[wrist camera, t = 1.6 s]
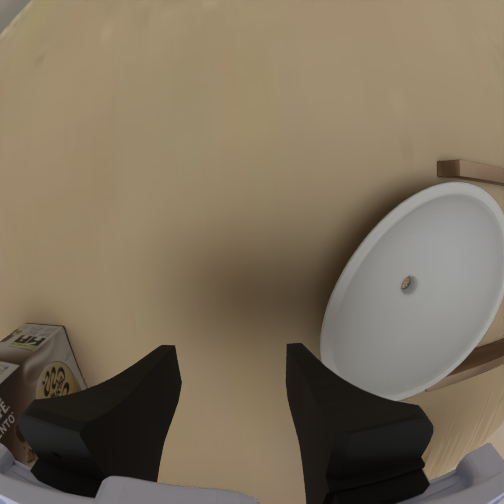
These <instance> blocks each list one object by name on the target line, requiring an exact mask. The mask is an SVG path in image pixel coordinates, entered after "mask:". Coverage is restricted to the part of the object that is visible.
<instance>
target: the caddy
mask: <svg viewBox="0 0 504 504" xmlns="http://www.w3.org/2000/svg"><path fill="white" fill-rule="evenodd" d="M437 171H438V176H440V177H449V178H457V179H464V180H471V181H478V182H484V183H491V184H496V185H502V186H504V169H502V168H498V167H494V166H489V165H485V164H480V163H475V162H470V161H465V160H448V161H437ZM502 364H504V339H501V340H499V341H496V342H493V343H490V344H487V345H484V346H481V347H478V348H475V349H473V351H472V352H471V353H470V354H469V355H468V356H467V357H466V359H465V360H464V361H463V362H462V363H461V364H460V365H459V366H457V367H456V368H455V369H454V370H453V371H452V372H451V373H449V374H448V375H447V376H446V377H444V378H443V379H442V380H440V381H439V382H437V383H436V384H434V385H433V386H431V387H429V388H428V389H426V390H425V391H426V392H429V391H432V390H435V389H439V388H442V387H445V386H448V385H451V384H454V383H457V382H460V381H462V380H465V379H468V378H471V377H473V376H476V375H479V374H481V373H484V372H486V371H488V370H491V369H493V368H496V367H498V366H500V365H502Z"/></svg>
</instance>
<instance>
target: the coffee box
mask: <svg viewBox="0 0 504 504" xmlns="http://www.w3.org/2000/svg"><path fill="white" fill-rule="evenodd" d="M85 389H87V388H86V385H85V383H84V381H83V378H82V376H81V374H80V371H79V369H78V366H77V364H76V361H75V359H74V356H73V353H72V351H71V348H70V345H69V342H68V339H67V336H66V333H65V330H64V327H62V326H49V325H37V324H23V325H22V326H21V327H19V328H18V329H17V330H15V331H14V332H13V333H11V334H10V335H8V336H7V337H6V338H4V339H3V340H2V341H0V443H1V444H3V445H4V446H5V447H6V448H7V449H8V450H9V451H10V452H11V454H12V455H13V457H14V458H15V460H17V461H18V462H20V463H22V464H24V465H26V466H28V467H30V468H32V467H33V465H34V464H35V462H36V461H37V459H38V457H37V456H36V454H35V453H34V451H33V450H32V449H31V447H30V446H29V444H28V443H27V441H26V440H25V438H24V437H23V435H22V433H21V431H20V429H19V425H18V418H19V416H20V415H21V414H22V413H23V412H24V411H25V409H26V408H27V407H28V406H29V405H30V403H31V402H32V401H33V400H34V399H44V398H52V397H58V396H63V395H68V394H72V393H75V392H79V391H82V390H85Z"/></svg>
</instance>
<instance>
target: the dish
mask: <svg viewBox="0 0 504 504" xmlns="http://www.w3.org/2000/svg"><path fill="white" fill-rule="evenodd" d="M406 277H409V278H410V283H409V285H408V287H406V288H405V289H401V284H402V282H403V280H404V279H405V278H406ZM503 295H504V215H503V212H502V210H501V209H500V207H499V205H498V204H497V202H496V201H495V200H494V199H493V198H492V197H491V196H490V195H489V194H488V193H487V192H485V191H484V190H483V189H481V188H479V187H477V186H475V185H472V184H469V183H464V182H447V183H441V184H438V185H434V186H431V187H429V188H426V189H424V190H422V191H420V192H418V193H416V194H414V195H412V196H411V197H409V198H408V199H406V200H405V201H403V202H402V203H400V204H399V205H398V206H397V207H395V208H394V209H393V210H392V211H390V212H389V213H388V214H387V215H386V216H385V217H384V218H383V219H382V220H381V221H380V222H379V223H378V224H377V225H376V226H375V227H374V228H373V229H372V230H371V232H370V233H369V234H368V235H367V236H366V238H365V239H364V240H363V241H362V243H361V244H360V245H359V247H358V248H357V249H356V251H355V252H354V254H353V255H352V256H351V258H350V260H349V261H348V263H347V265H346V266H345V268H344V269H343V271H342V273H341V275H340V277H339V279H338V281H337V283H336V285H335V287H334V290H333V292H332V294H331V296H330V299H329V302H328V305H327V307H326V311H325V314H324V318H323V322H322V328H321V334H320V358H321V362H322V363H323V364H324V365H325V366H326V367H327V368H329V369H330V370H331V371H333V372H334V373H335V374H337V375H338V376H340V377H341V378H343V379H344V380H346V381H348V382H349V383H351V384H353V385H355V386H357V387H359V388H361V389H363V390H365V391H367V392H370V393H372V394H375V395H377V396H380V397H383V398H387V399H390V400H393V401H399V400H402V399H405V398H408V397H411V396H413V395H416V394H418V393H420V392H422V391H424V390H426V389H428V388H429V387H431V386H433V385H434V384H436V383H437V382H439V381H440V380H442V379H443V378H444V377H446V376H447V375H448V374H449V373H451V372H452V371H453V370H454V369H455V368H456V367H457V366H459V365H460V364H461V363H462V362H463V361H464V360H465V359H466V357H467V356H468V355H469V354H470V353H471V352H472V351H473V349H474V348H475V347H476V346H477V344H478V343H479V342H480V340H481V339H482V337H483V336H484V334H485V333H486V331H487V330H488V328H489V326H490V325H491V323H492V321H493V319H494V317H495V315H496V313H497V311H498V308H499V306H500V304H501V301H502V298H503Z"/></svg>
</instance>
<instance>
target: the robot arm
mask: <svg viewBox="0 0 504 504" xmlns="http://www.w3.org/2000/svg"><path fill="white" fill-rule="evenodd" d="M181 385H182V381H181V376H180V371H179V365H178V360H177V354H176V348H175V345H161V346H159V347H158V348H156V349H155V350H153V351H152V352H151V353H149V354H148V355H147V356H145V357H144V358H142V359H141V360H140V361H138V362H137V363H135V364H134V365H132V366H131V367H129V368H128V369H126V370H124V371H123V372H121V373H120V374H118V375H116V376H114V377H113V378H111V379H109V380H107V381H105V382H102V383H100V384H98V385H96V386H93V387H90V388H87V389H85V390H82V391H79V392H75V393H72V394H68V395H63V396H58V397H52V398H44V399H34V400H33V401H32V402H31V403H30V405H29V406H28V407H27V408H26V409H25V411H24V412H23V413H22V414H21V415H20V416H19V418H18V425H19V429H20V431H21V433H22V435H23V437H24V438H25V440H26V441H27V443H28V444H29V446H30V447H31V449H32V450H33V451H34V453H35V454H36V456H37V457H38V459H37V461H36V462H35V464H34V465H33V467H32V468H30V467H28V466H26V465H24V464H22V463H20V462H18V461H17V460H15V458H14V457H13V455H12V454H11V452H10V451H9V450H8V449H7V448H6V447H5V446H4V445H3V444H1V443H0V504H260V503H259V502H258V501H257V500H256V499H255V498H253V497H251V496H248V495H246V494H243V493H241V492H238V491H231V490H224V489H216V488H200V487H189V486H179V485H171V484H164V483H158V482H157V479H158V472H159V466H160V460H161V455H162V450H163V445H164V442H165V438H166V435H167V433H168V430H169V427H170V424H171V421H172V418H173V416H174V413H175V410H176V407H177V404H178V401H179V396H180V391H181ZM286 388H287V396H288V402H289V406H290V410H291V414H292V418H293V421H294V425H295V429H296V432H297V436H298V440H299V445H300V451H301V459H302V466H303V475H304V483H305V493H306V504H500V503H501V502H502V501H503V500H504V460H503V459H502V457H501V456H500V455H499V453H498V452H497V451H496V449H495V448H494V447H493V446H492V444H491V443H487V444H485V445H483V446H482V447H480V448H478V449H476V450H474V451H472V452H470V453H469V454H467V455H466V456H465V457H464V458H463V459H462V460H461V461H460V462H459V464H458V466H457V467H456V469H455V470H453V471H451V472H449V473H447V474H444V475H442V476H440V477H437V478H435V479H433V480H430V481H429V479H428V477H427V476H426V474H425V472H424V470H423V468H424V466H425V463H424V461H423V460H422V458H421V456H422V455H423V453H424V451H425V449H426V447H427V445H428V444H429V442H430V440H431V437H432V434H433V425H432V423H431V422H430V420H429V419H428V417H427V416H426V414H425V413H424V411H423V410H422V409H421V408H420V406H419V405H414V404H408V403H403V402H397V401H393V400H390V399H387V398H383V397H380V396H377V395H375V394H372V393H370V392H367V391H365V390H363V389H361V388H359V387H357V386H355V385H353V384H351V383H349V382H348V381H346V380H344V379H343V378H341V377H340V376H338V375H337V374H335V373H334V372H333V371H331V370H330V369H329V368H327V367H326V366H325V365H324V364H323V363H322V362H320V361H319V360H318V359H317V358H316V357H315V356H314V355H313V354H312V353H311V352H310V351H309V350H308V349H307V348H306V347H305V346H304V345H303V344H302V343H293V344H287V358H286Z"/></svg>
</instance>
